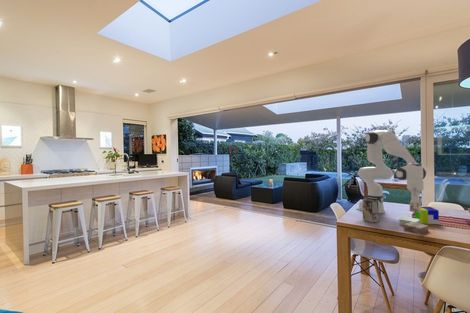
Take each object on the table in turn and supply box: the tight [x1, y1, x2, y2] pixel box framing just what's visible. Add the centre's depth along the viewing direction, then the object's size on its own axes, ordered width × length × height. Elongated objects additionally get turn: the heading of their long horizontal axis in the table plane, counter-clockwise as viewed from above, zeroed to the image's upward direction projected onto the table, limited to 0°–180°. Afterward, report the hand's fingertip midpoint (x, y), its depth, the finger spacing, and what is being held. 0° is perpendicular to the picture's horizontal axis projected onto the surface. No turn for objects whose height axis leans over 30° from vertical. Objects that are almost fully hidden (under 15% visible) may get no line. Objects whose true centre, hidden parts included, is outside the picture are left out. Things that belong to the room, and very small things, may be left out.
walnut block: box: [402, 222, 429, 235], centre depth 158 cm, size 10×10×4 cm
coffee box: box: [362, 198, 379, 224], centre depth 181 cm, size 9×6×16 cm
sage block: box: [398, 216, 421, 226], centre depth 170 cm, size 10×10×4 cm
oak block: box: [409, 200, 422, 213], centre depth 158 cm, size 5×5×7 cm
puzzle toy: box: [414, 206, 440, 225], centre depth 174 cm, size 10×10×10 cm
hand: (415, 207), depth 158 cm, fingers closed on oak block, 5 cm apart
